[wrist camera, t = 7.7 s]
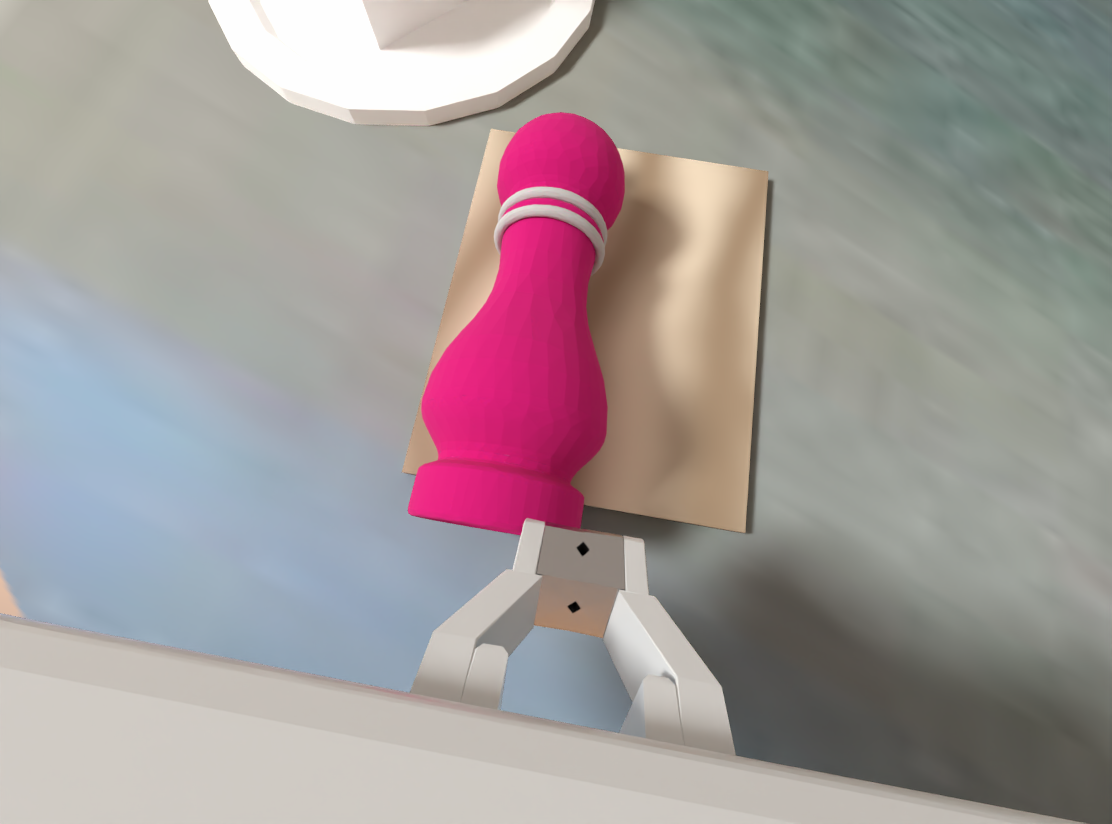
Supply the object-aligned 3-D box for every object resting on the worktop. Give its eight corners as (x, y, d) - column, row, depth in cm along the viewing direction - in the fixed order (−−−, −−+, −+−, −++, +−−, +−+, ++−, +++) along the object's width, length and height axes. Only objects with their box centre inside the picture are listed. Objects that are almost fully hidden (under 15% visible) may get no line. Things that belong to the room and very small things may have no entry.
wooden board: (763, 179, 25) (768, 171, 24) (739, 532, 20) (745, 533, 20) (492, 137, 26) (491, 128, 25) (406, 473, 21) (401, 472, 20)
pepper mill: (629, 551, 14) (678, 90, 19) (390, 509, 11) (525, 7, 17) (552, 541, 20) (606, 198, 26) (392, 513, 18) (489, 148, 24)
